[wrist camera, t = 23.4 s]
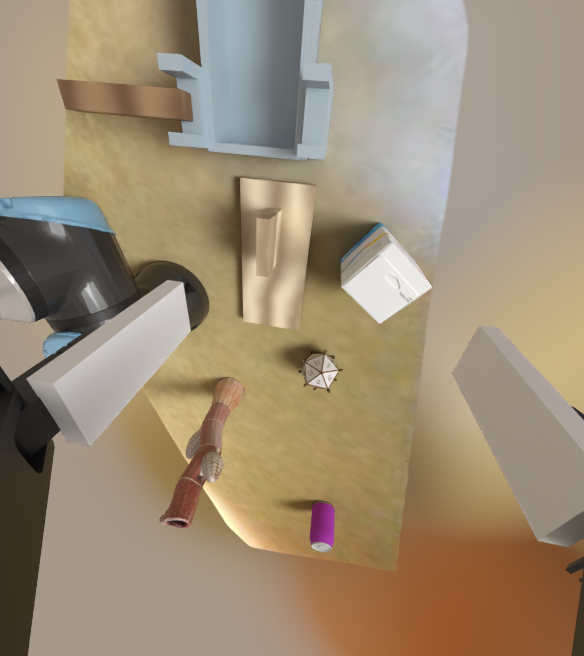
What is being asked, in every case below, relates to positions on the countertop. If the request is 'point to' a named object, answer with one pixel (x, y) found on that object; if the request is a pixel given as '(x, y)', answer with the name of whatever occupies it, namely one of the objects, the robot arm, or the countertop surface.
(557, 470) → the robot arm
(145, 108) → the cross bar
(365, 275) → the ink box
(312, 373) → the game die
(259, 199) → the lid
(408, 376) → the countertop surface
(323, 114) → the grey box with brackets
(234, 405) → the vase
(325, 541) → the beverage can
